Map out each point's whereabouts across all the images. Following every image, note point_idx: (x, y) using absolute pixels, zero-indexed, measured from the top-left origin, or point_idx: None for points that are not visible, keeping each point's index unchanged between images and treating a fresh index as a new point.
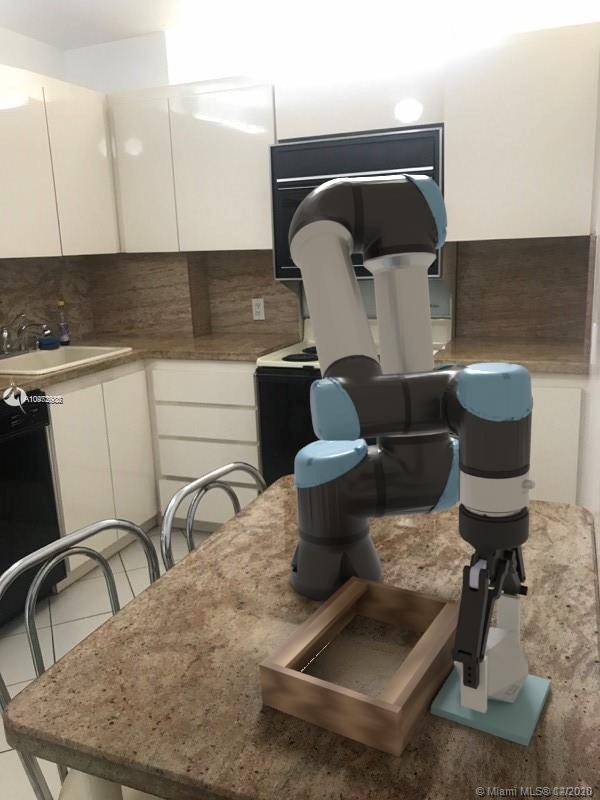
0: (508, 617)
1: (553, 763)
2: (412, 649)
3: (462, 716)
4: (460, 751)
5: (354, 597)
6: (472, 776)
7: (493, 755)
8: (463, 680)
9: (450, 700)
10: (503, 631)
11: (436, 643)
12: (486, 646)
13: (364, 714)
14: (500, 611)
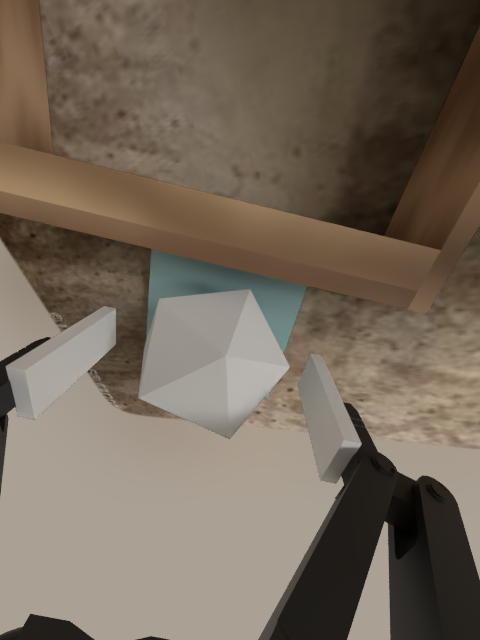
0: (315, 413)
1: (135, 385)
2: (184, 187)
3: (149, 292)
4: (103, 290)
5: None
6: (71, 308)
7: (116, 329)
8: (32, 344)
9: (178, 271)
10: (217, 421)
11: (230, 248)
12: (148, 389)
13: None
14: (325, 408)
